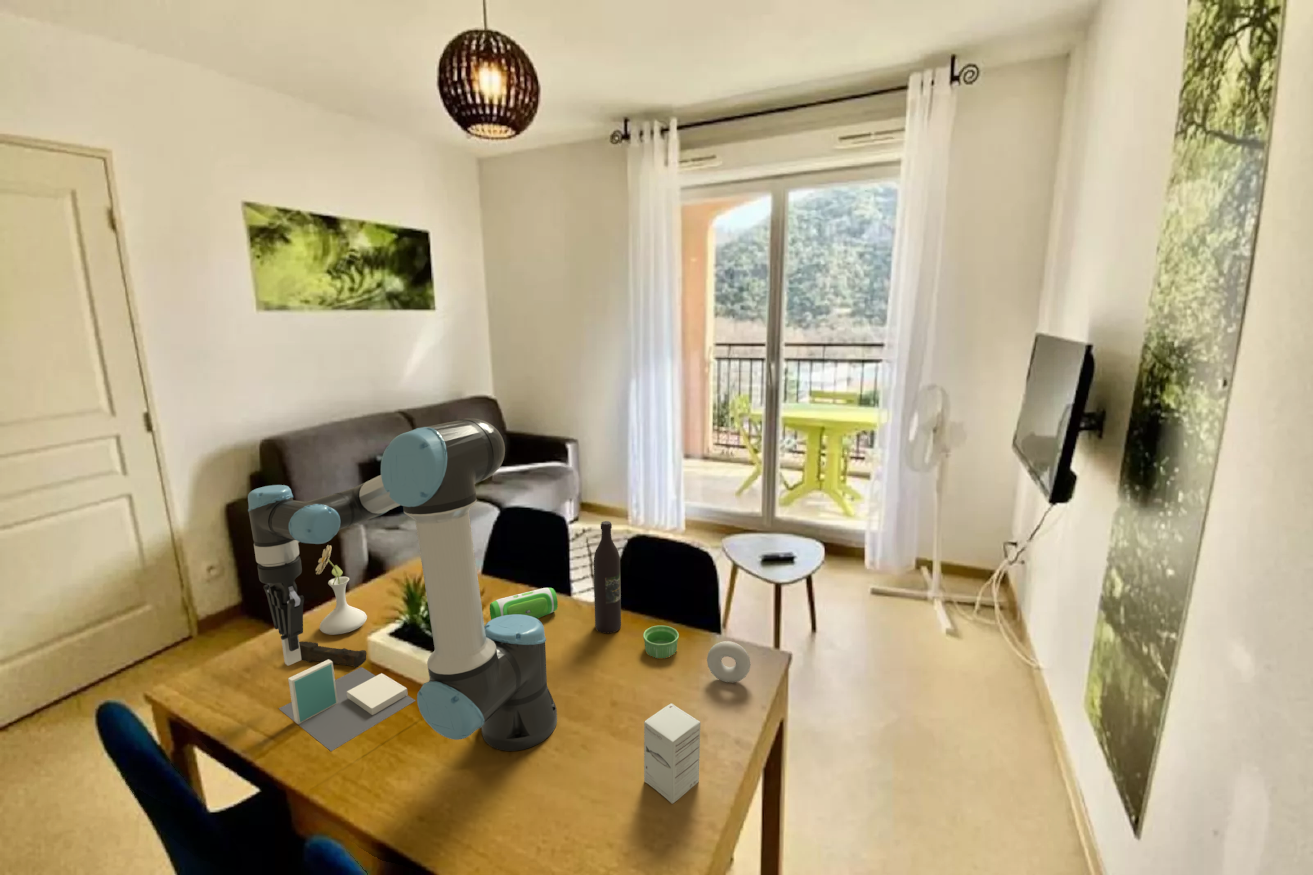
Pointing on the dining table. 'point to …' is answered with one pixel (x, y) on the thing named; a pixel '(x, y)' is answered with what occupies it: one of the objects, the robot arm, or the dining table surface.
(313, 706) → the tile near
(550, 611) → the speaker
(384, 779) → the dining table surface
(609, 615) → the wine bottle
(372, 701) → the tile far
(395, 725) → the dining table surface
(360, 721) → the mat
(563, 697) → the dining table surface
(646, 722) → the supplement box
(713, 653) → the donut
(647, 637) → the ramekin
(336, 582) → the flower in vase
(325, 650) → the hand tool
